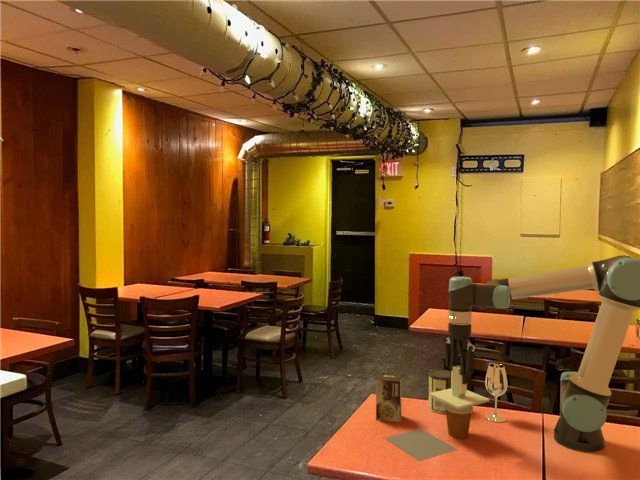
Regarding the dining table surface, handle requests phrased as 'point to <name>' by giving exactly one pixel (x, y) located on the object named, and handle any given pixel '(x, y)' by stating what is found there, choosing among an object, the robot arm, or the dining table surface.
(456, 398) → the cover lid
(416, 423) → the dining table surface
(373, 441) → the dining table surface
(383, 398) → the coffee box
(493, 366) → the wineglass
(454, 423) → the disposable coffee cup
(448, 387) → the coffee can
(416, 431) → the rubber mat
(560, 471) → the dining table surface
